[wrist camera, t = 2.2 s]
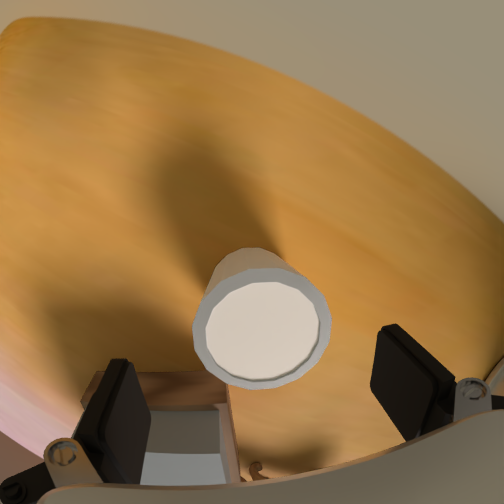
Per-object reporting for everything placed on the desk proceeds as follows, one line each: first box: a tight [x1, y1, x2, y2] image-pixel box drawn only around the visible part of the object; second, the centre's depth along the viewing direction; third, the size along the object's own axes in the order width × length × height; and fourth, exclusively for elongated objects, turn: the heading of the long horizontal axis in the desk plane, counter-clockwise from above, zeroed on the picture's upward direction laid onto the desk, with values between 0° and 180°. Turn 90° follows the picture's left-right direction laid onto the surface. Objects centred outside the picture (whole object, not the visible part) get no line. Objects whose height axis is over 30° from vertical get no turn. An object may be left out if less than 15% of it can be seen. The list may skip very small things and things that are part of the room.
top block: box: [71, 406, 232, 486], centre depth 17 cm, size 10×10×4 cm
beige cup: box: [192, 247, 332, 390], centre depth 17 cm, size 7×7×7 cm
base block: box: [80, 370, 241, 483], centre depth 21 cm, size 11×11×4 cm
